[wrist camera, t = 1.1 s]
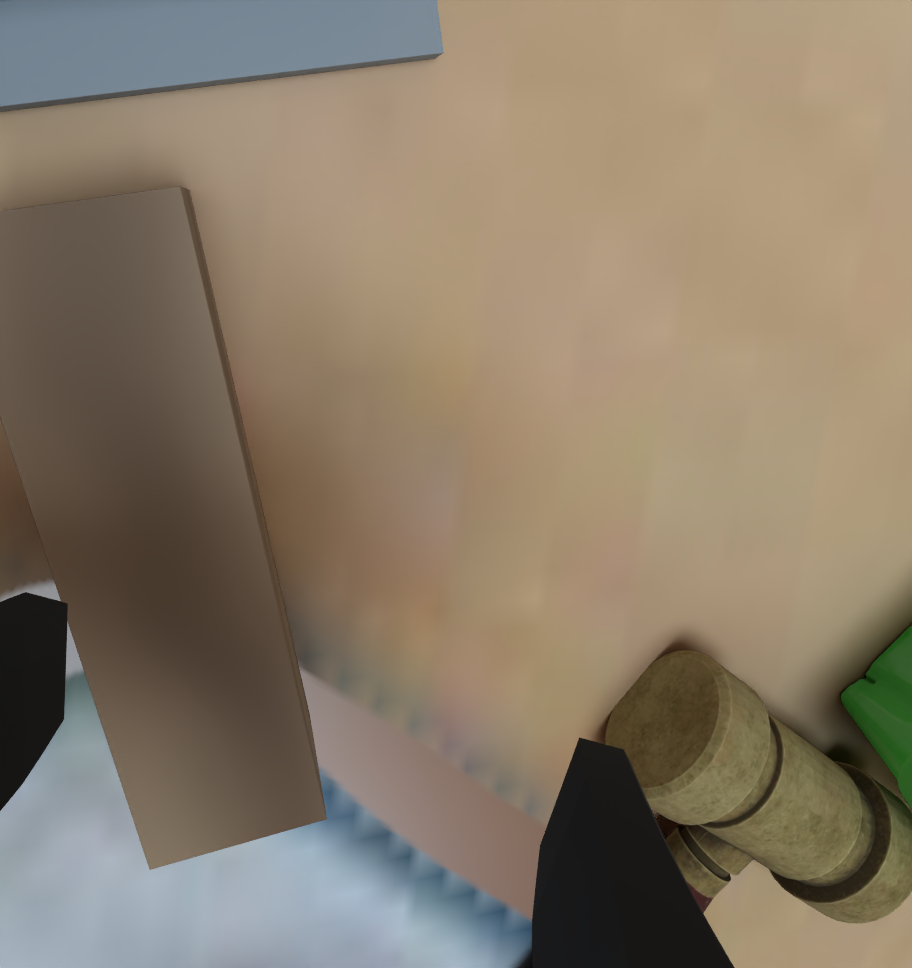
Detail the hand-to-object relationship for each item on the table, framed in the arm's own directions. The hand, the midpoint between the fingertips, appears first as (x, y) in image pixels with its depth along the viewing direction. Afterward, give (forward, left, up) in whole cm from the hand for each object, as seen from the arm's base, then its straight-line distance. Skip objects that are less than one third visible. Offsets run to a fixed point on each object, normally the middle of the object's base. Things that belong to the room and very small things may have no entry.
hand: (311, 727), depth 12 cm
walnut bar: (-2, 0, -11) cm, 11 cm away
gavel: (+6, -18, -11) cm, 22 cm away
